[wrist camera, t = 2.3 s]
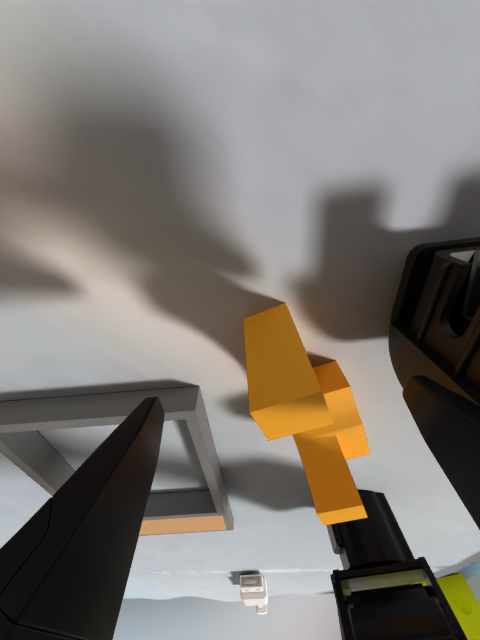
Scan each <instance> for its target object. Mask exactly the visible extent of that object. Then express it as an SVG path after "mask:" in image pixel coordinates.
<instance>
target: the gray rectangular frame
mask: <svg viewBox="0 0 480 640" xmlns="http://www.w3.org/2000/svg"><path fill="white" fill-rule="evenodd" d="M148 396H158V397H159V398H160V401H161V403H162V406H163V408H164V412H165V416H164V421H170V420H184V419H185V420H186V423H187V426H188V428H189V431H190V434H191V437H192V440H193V443H194V446H195V449H196V452H197V455H198V458H199V461H200V464H201V467H202V470H203V473H204V475H205V478H206V481H207V484H208V487H209V490H204V491H189V492H174V493H159V494H149V497H148V501H147V505H146V509H145V513H144V517H143V521H144V520H160V519H175V518H191V517H207V516H222V515H226V493H227V492H226V488H225V485H224V481H223V477H222V473H221V469H220V465H219V461H218V457H217V453H216V449H215V446H214V442H213V438H212V434H211V430H210V426H209V422H208V418H207V414H206V411H205V407H204V403H203V399H202V395H201V391H200V387H199V386H195V387H182V388H170V389H157V390H144V391H131V392H118V393H105V394H92V395H80V396H67V397H54V398H41V399H28V400H15V401H2V402H0V452H1V453H2V454H4V455H5V456H6V457H7V458H8V459H9V460H11V461H12V462H13V463H14V464H15V465H16V466H18V467H19V468H20V469H21V470H22V471H24V472H25V473H26V474H27V475H28V476H29V477H31V478H32V479H33V480H34V481H35V482H37V483H38V484H39V485H40V486H41V487H42V488H44V489H45V490H46V491H47V492H48V493H49V494H51V495H52V496H53V495H54V493H55V492H56V491H57V490H58V489H59V488H60V487H61V486H62V485H63V484H64V483H65V482H66V481H67V480H68V479H69V478H70V477H71V476H72V474H73V473H74V472H75V471H74V469H73V468H72V467H71V466H70V465H69V464H68V463H67V462H66V461H65V460H64V459H63V458H62V457H61V456H60V455H59V453H58V452H57V451H56V450H55V449H54V448H53V447H52V446H51V445H50V444H49V443H48V442H47V441H46V440H45V439H44V437H43V436H42V435H41V434H40V433H39V432H38V431H37V430H49V429H63V428H76V427H90V426H103V425H116V424H121V423H122V422H123V421H124V420H125V418H126V417H127V416H128V415H129V414H130V413H131V412H132V411H133V410H134V409H135V408H136V407H137V406H138V405H139V404H140V403H141V402H142V401H143V399H144V398H146V397H148Z"/></svg>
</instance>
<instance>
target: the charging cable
mask: <svg viewBox="0 0 480 640" xmlns="http://www.w3.org/2000/svg"><path fill="white" fill-rule="evenodd" d="M240 596H241V599H242V600H243V602H244V604H245V605H246V606H253V605H254V606H255V605H256V612H257V614H258V615H259V614H266V613H267V609H266V605H267V603H268V596H267V584H266V579H265V576H264V575H263V576H262V574H255V575H240Z"/></svg>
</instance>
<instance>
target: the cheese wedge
mask: <svg viewBox="0 0 480 640" xmlns="http://www.w3.org/2000/svg"><path fill="white" fill-rule="evenodd" d="M436 580H437V582H438V584H439V586H440V588H441V590H442V592H443V593H444V595H445V597H446V599H447V601H448V603H449V605H450V607H451V609H452V610H453V612H454V614H455V616H456V618H457V620H458V622H459V624H460V626H461V628H462V629H463V631H464V633H465V635H466V637H467V639H468V640H480V604H479V603H478V601H477V599H476V598H475V596H474V594H473V592H472V591H471V589H470V587H469V585H468V584H467V582H466V580H465V578H464V577H463V575H462V573H460V574H455V575H451V576H446V577H441V578H437V579H436ZM418 583H422V585H423V586H426V585H427V583H426V581H423V582H418ZM418 583H414V584H418ZM409 585H410V584H409Z"/></svg>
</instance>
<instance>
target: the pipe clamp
mask: <svg viewBox="0 0 480 640" xmlns="http://www.w3.org/2000/svg"><path fill="white" fill-rule="evenodd" d="M243 322H244V336H245V351H246V365H247V380H248V394H249V409H250V414H251V415H252V417H253V418H254V420H255V421H256V423H257V424H258V426H259V427H260V429H261V430H262V432H263V433H264V435H265V436H266V438H267V439H268V441H270V440H274V439H277V438H281V437H285V436H289V435H293V437H294V440H295V443H296V446H297V448H298V451H299V454H300V457H301V460H302V463H303V466H304V470H305V473H306V476H307V480H308V483H309V486H310V490H311V494H312V497H313V501H314V505H315V509H316V513H317V515H318V517H319V518H320V520H321V521H322V523H323V524H324V525H329V524H335V523H340V522H346V521H351V520H357V519H362V518H368V517H367V514H366V511H365V509H364V506H363V503H362V501H361V498H360V496H359V493H358V491H357V488H356V486H355V483H354V480H353V478H352V475H351V473H350V470H349V468H348V465H347V463H346V460H347V459H352V458H356V457H360V456H364V455H369V454H370V450H369V446H368V442H367V438H366V434H365V430H364V426H363V424H362V421H361V418H360V416H359V413H358V410H357V408H356V405H355V402H354V399H353V395H352V392H351V388H350V385H349V383H348V381H347V380H346V378H345V376H344V374H343V373H342V371H341V369H340V367H339V365H338V364H337V362H336V360H335V361H332V362H329V363H326V364H323V365H319V366H316V367H313V368H312V365H311V363H310V361H309V358H308V356H307V353H306V351H305V349H304V346H303V344H302V341H301V339H300V336H299V334H298V332H297V329H296V327H295V324H294V322H293V320H292V317H291V315H290V312H289V310H288V307H287V305H286V303H283V304H281V305H278V306H276V307H273V308H270V309H268V310H265V311H263V312H260V313H257V314H255V315H252V316H250V317H247V318H244V319H243Z"/></svg>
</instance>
